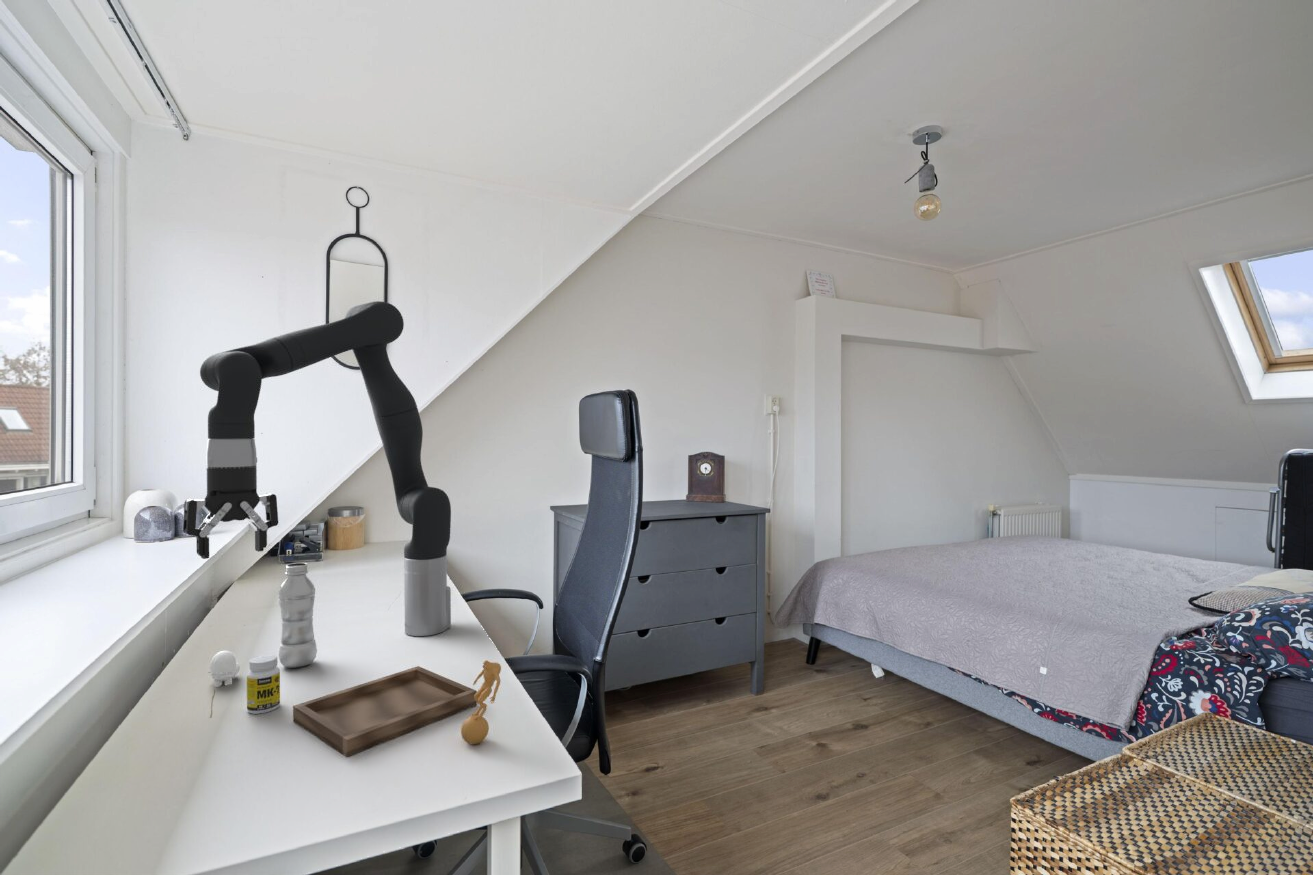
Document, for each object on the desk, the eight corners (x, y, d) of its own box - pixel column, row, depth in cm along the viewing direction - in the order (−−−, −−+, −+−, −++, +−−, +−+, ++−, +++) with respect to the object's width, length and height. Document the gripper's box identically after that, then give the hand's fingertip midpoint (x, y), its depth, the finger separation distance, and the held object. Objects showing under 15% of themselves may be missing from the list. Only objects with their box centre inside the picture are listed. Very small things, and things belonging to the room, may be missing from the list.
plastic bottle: (301, 672, 125) (299, 568, 124) (270, 670, 126) (269, 567, 126) (324, 660, 131) (323, 561, 131) (295, 658, 132) (294, 560, 132)
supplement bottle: (256, 717, 106) (255, 665, 106) (241, 710, 108) (240, 660, 108) (286, 706, 110) (285, 656, 110) (271, 699, 113) (270, 651, 112)
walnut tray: (418, 679, 121) (418, 665, 121) (476, 705, 110) (476, 690, 110) (293, 721, 104) (292, 705, 104) (347, 757, 93) (346, 739, 93)
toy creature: (205, 692, 116) (205, 657, 116) (214, 676, 123) (214, 643, 123) (235, 687, 118) (235, 653, 118) (243, 672, 125) (242, 640, 125)
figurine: (453, 735, 100) (452, 657, 99) (491, 724, 103) (491, 649, 103) (470, 758, 93) (469, 674, 92) (511, 746, 96) (510, 665, 96)
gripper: (267, 461, 124) (268, 546, 125) (177, 465, 114) (178, 557, 114) (283, 463, 120) (284, 551, 120) (190, 466, 109) (191, 563, 109)
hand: (232, 554), depth 117 cm, fingers open, 8 cm apart
